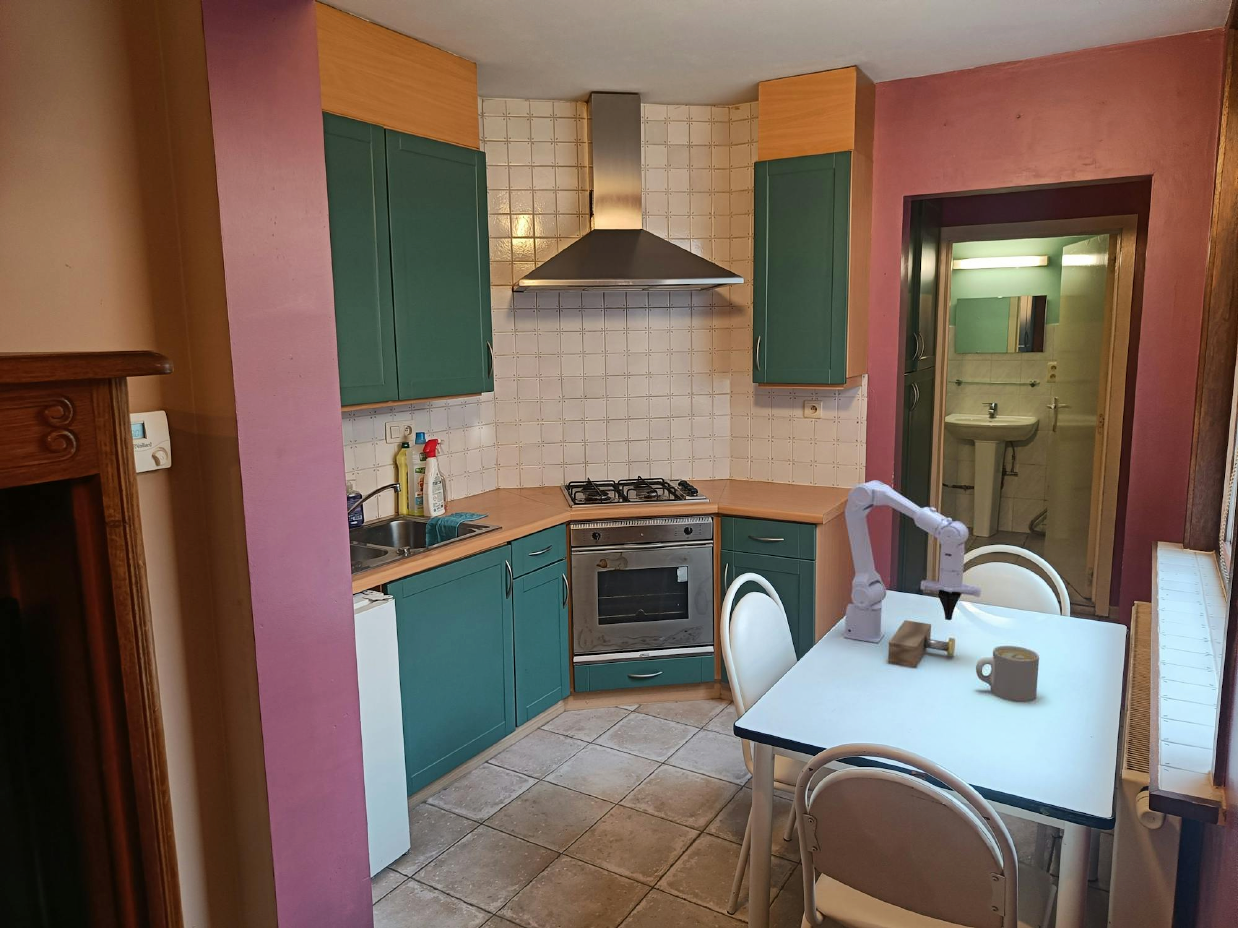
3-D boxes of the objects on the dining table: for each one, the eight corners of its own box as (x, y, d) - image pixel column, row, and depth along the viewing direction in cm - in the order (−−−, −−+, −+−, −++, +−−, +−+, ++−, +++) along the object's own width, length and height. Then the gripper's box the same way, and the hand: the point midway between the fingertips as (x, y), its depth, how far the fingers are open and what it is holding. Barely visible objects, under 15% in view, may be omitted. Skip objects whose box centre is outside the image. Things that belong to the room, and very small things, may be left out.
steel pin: (915, 653, 231) (916, 635, 230) (918, 647, 235) (919, 630, 234) (951, 659, 226) (952, 641, 226) (954, 653, 230) (955, 636, 230)
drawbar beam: (887, 662, 225) (888, 642, 224) (903, 639, 242) (904, 620, 241) (915, 667, 222) (916, 646, 221) (930, 643, 239) (931, 624, 238)
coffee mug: (1035, 688, 209) (1038, 648, 207) (1036, 704, 200) (1039, 663, 198) (975, 679, 214) (977, 641, 213) (974, 695, 205) (976, 654, 204)
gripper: (919, 568, 226) (916, 618, 228) (979, 576, 219) (976, 627, 221) (924, 562, 232) (922, 611, 234) (982, 569, 225) (979, 619, 227)
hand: (948, 618), depth 228 cm, fingers closed
